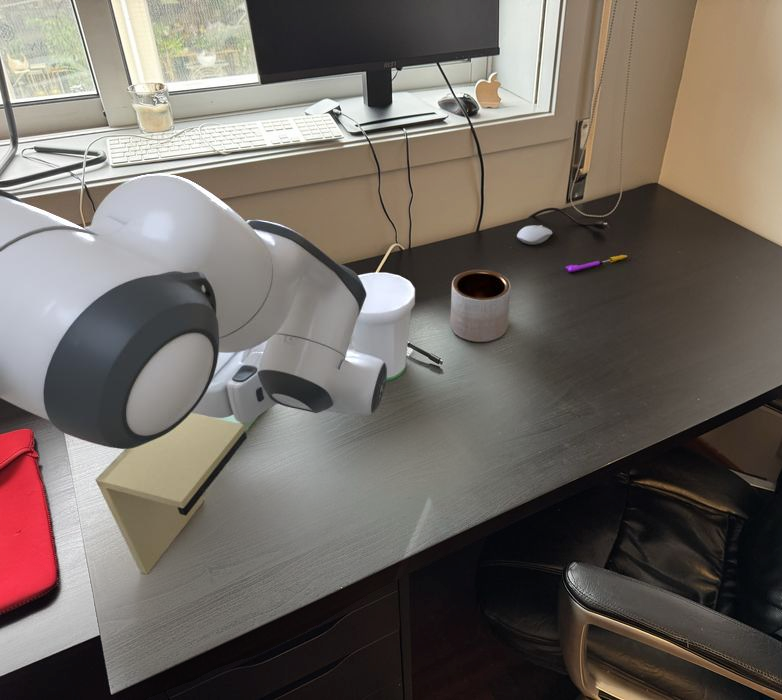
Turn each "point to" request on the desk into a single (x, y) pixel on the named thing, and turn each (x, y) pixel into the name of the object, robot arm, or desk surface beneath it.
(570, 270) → the purple screwdriver
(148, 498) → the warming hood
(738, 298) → the desk surface
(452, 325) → the planter
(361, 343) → the cup
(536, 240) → the computer mouse
